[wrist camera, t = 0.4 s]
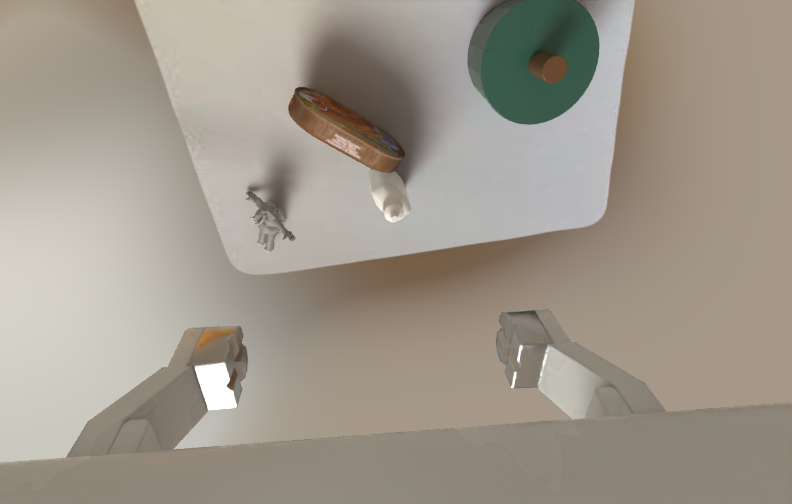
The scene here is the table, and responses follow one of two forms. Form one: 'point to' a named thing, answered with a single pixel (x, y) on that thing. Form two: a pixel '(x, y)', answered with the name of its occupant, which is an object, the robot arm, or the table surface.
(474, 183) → the table surface
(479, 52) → the pot
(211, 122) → the table surface
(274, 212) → the grey creature figurine
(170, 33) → the table surface
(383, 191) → the eye dropper bottle
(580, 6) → the lid
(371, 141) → the tin
